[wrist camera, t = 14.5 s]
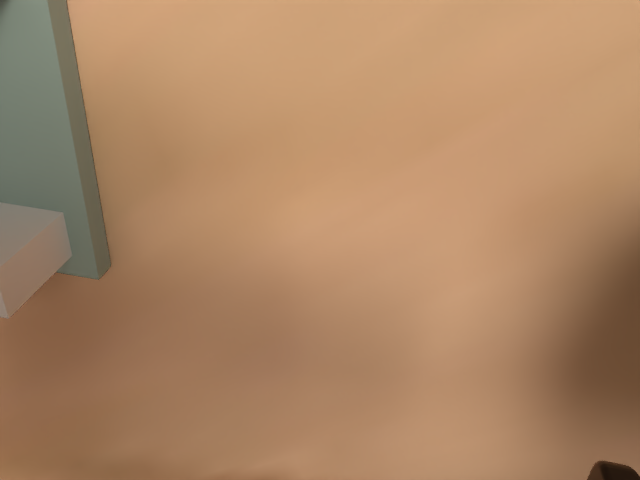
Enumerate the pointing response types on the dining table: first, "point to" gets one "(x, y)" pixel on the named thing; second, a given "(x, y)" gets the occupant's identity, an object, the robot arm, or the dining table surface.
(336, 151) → the dining table surface
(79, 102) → the vise
